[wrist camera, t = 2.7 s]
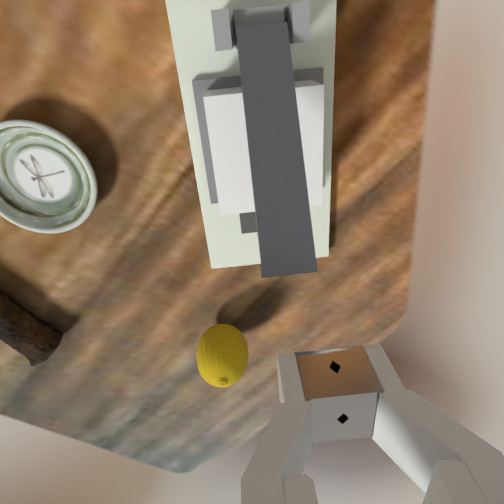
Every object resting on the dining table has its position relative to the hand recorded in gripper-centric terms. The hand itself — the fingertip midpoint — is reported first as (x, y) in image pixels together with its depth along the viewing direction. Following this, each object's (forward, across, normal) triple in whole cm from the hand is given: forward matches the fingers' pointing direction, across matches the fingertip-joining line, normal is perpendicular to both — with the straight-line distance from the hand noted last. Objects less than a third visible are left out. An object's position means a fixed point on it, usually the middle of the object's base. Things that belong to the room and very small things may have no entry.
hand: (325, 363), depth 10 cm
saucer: (+24, +19, 0) cm, 31 cm away
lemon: (+24, +6, +20) cm, 32 cm away
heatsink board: (+24, 0, -2) cm, 24 cm away
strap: (+15, 0, -2) cm, 15 cm away
